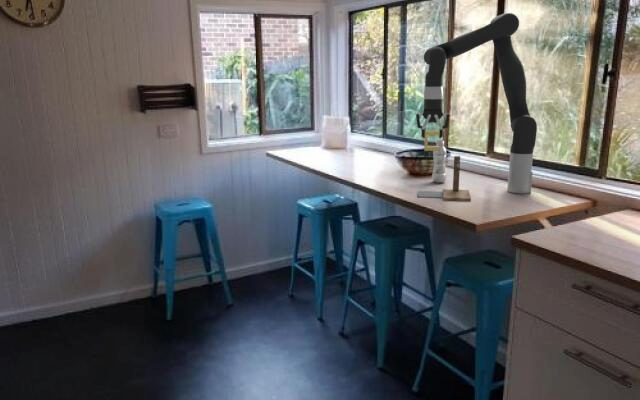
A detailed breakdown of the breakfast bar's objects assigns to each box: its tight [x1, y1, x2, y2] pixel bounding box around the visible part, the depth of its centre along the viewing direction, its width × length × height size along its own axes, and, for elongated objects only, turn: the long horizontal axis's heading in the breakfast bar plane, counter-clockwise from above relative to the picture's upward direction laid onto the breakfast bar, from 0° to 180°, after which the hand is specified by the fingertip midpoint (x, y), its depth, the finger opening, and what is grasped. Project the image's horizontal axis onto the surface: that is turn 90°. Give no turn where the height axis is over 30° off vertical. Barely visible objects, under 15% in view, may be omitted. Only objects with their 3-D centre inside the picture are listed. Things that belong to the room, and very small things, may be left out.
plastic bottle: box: [431, 140, 447, 184], centre depth 240 cm, size 6×7×20 cm
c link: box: [423, 130, 440, 152], centre depth 214 cm, size 6×4×8 cm, turn 78°
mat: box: [417, 190, 443, 199], centre depth 220 cm, size 10×10×1 cm
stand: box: [442, 155, 472, 202], centre depth 214 cm, size 11×15×16 cm
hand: (431, 138), depth 214 cm, fingers closed on c link, 6 cm apart
